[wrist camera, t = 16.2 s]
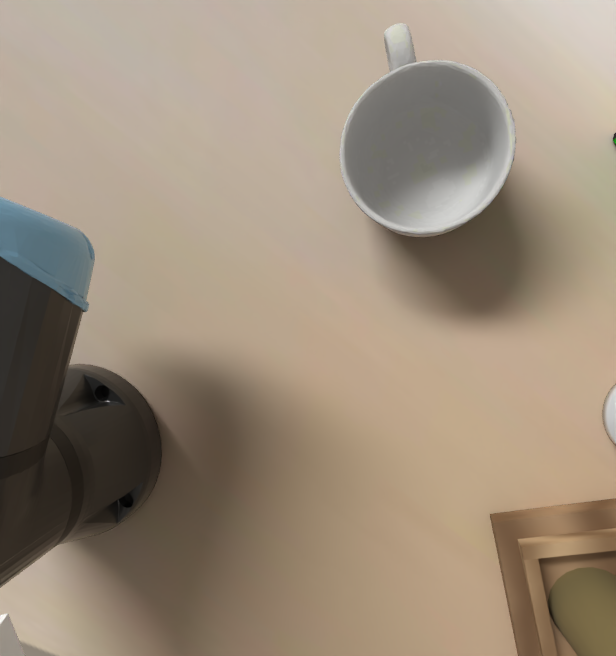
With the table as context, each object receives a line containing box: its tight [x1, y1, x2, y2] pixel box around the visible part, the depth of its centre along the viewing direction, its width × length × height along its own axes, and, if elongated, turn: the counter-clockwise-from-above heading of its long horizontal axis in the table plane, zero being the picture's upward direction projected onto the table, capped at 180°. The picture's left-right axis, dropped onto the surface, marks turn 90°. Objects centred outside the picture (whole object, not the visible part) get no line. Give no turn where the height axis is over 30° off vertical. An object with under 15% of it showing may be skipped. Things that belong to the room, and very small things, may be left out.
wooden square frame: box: [490, 499, 616, 656], centre depth 37 cm, size 14×14×3 cm
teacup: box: [340, 23, 516, 237], centre depth 34 cm, size 14×11×8 cm
